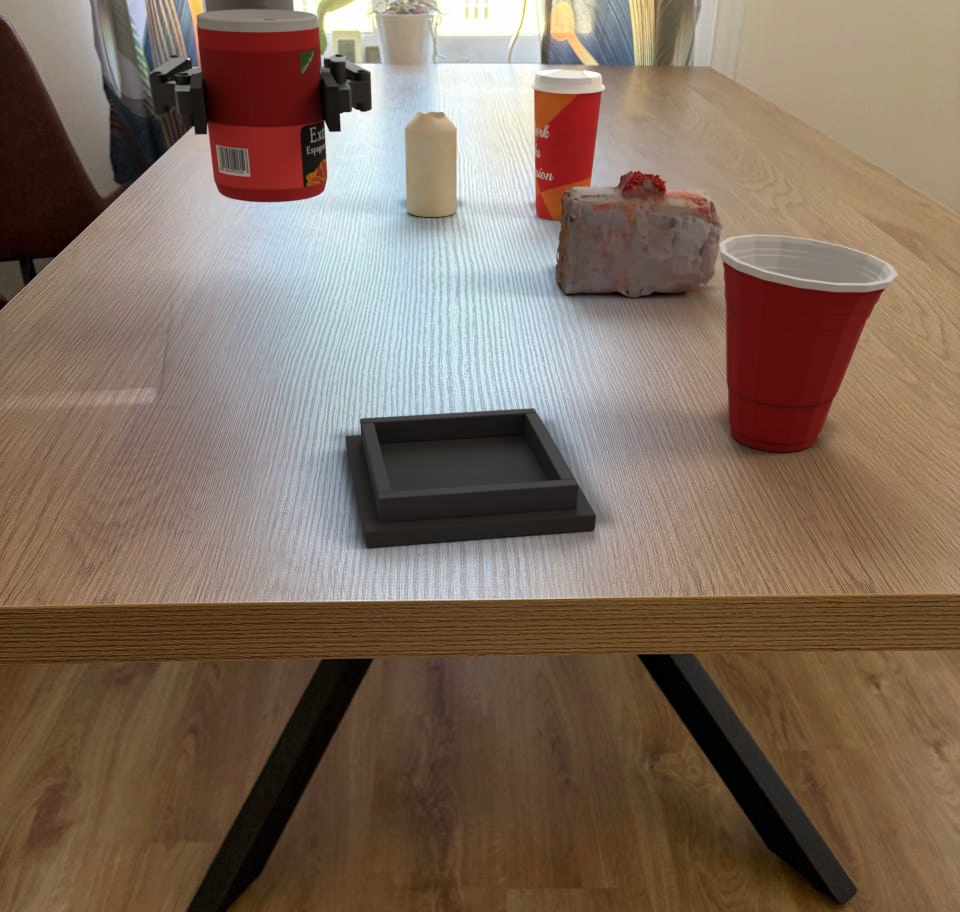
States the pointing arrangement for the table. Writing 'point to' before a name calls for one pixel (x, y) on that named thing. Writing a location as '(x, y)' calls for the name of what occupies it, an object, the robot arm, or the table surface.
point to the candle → (431, 165)
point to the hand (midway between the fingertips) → (266, 110)
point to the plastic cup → (792, 332)
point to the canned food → (264, 103)
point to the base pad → (462, 478)
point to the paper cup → (564, 134)
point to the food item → (637, 238)
